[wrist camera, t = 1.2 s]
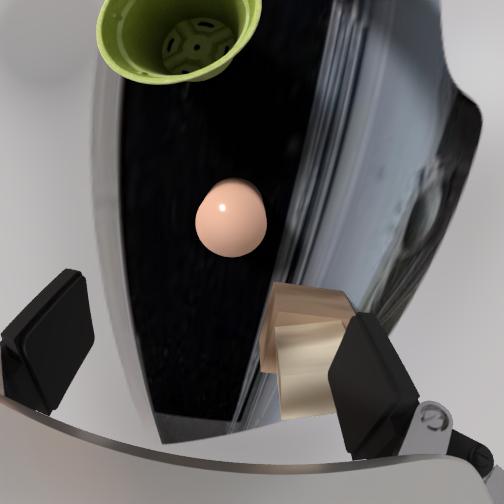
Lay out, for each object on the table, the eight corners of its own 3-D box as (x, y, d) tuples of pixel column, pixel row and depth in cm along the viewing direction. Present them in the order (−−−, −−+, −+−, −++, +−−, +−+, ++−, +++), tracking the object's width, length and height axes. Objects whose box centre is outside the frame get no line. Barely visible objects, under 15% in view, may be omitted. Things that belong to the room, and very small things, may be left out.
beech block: (275, 326, 23) (280, 376, 18) (340, 320, 23) (359, 365, 18) (276, 372, 25) (281, 419, 20) (334, 366, 25) (348, 410, 20)
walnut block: (273, 280, 27) (278, 311, 23) (342, 290, 28) (358, 320, 23) (259, 338, 30) (260, 371, 25) (321, 344, 30) (331, 376, 26)
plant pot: (160, -1, 17) (125, -46, 9) (269, 11, 18) (278, -40, 10) (132, 93, 20) (78, 80, 12) (241, 109, 21) (237, 96, 13)
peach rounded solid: (209, 173, 23) (199, 184, 19) (267, 182, 24) (272, 195, 19) (202, 228, 25) (192, 251, 20) (258, 236, 25) (260, 261, 21)
